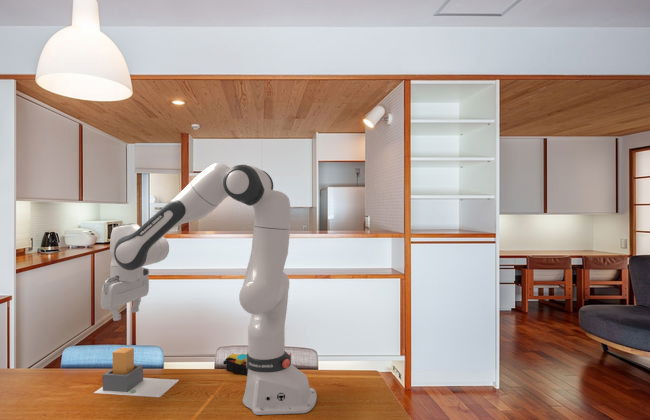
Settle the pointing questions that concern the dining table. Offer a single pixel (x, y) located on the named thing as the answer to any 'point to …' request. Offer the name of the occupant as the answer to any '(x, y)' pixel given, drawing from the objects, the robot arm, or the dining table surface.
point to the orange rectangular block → (123, 361)
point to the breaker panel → (134, 384)
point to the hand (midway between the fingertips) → (126, 316)
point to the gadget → (236, 363)
